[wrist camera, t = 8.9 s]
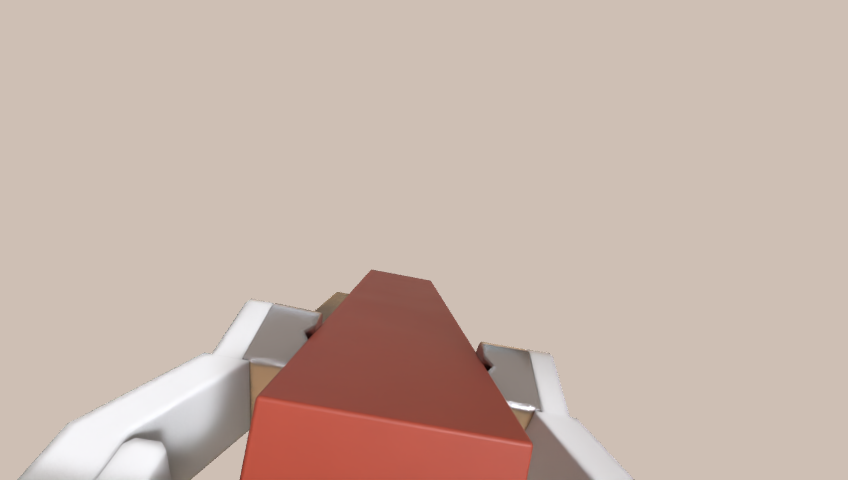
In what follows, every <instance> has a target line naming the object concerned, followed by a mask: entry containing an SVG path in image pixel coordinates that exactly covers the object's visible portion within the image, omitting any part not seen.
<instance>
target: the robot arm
mask: <svg viewBox="0 0 848 480" xmlns="http://www.w3.org/2000/svg"><path fill="white" fill-rule="evenodd" d="M322 317H323V315H322V313H320V312H316V311H311V310H306V309H301V308H296V307H291V306H286V305H282V304H277V303H275V304H274V303H270V302H265V301H260V300H255V299H250V300H249V301H248V302H246V303H245V304H244V306H243V307H242V309H241V311H240V312H239V314H238V315H237V317H236V318H235V320H234V321H233V323H232V324H231V326H230V327H229V329H228V330H227V332H226V333H225V335H224V336H223V338H222V340H221V341H220V342H219V344H218V345H217V347H216V348H215V350H214V352H213V353H212V354H209V353H203V354H201V355H199V356H197V357H195V358H193V359H191V360H189V361H187V362H185V363H183V364H182V365H180V366H178V367H176V368H174V369H172V370H170V371H168V372H166V373H164V374H162V375H160V376H158V377H156V378H154V379H153V380H150V381H149V382H147V383H145V384H143V385H141V386H139V387H137V388H135V389H133V390H131V391H129V392H127V393H125V394H123V395H121V396H120V397H118V398H116V399H114V400H112V401H110V402H108V403H106V404H104V405H102V406H100V407H98V408H96V409H95V410H92V411H91V412H89V413H87V414H85V415H83V416H81V417H79V418H77V419H75V420H73V421H71V422H69V423H68V424H67V425H66V426H65V427H64V428H63V429H62V430H61V431H60V432H59V434H58V435H57V436H56V437H55V438H54V439H53V440H52V441H51V442H50V444H49V445H48V446H47V447H46V448H45V449H44V450H43V451H42V453H41V454H40V455H39V456H38V457H37V458H36V459H35V460H34V462H33V463H32V464H31V465H30V466H29V467H28V468H27V470H26V471H25V472H24V473H23V474H22V475H21V476H20V477H19V478H18V480H191V479H192V478H193V477H194V476H195V475H197V474H198V473H199V472H200V471H201V470H203V468H205V467H206V466H207V465H208V464H209V463H211V462H212V461H213V460H214V459H216V458H217V457H218V456H219V455H220V454H221V453H222V452H224V451H225V450H226V449H227V448H228V447H230V446H231V445H232V444H233V443H234V442H236V441H237V440H238V439H239V438H240V437H241V436H243V435H244V434H245V433H246V432H247V431H249V429H250V424H251V419H252V414H253V409H254V403H255V399H256V397H257V396H258V395H259V393H260V392H261V391H262V390H263V389H264V388H265V387H266V386H267V385H268V383H269V382H270V381H271V380H272V379H273V378H274V377H275V376H276V375H277V373H278V372H279V371H280V370H281V369H282V368H283V367H284V366H285V365H286V364H287V362H288V361H289V360H290V359H291V358H292V357H293V356H294V355H295V354H296V352H297V351H298V350H299V349H300V348H301V347H302V346H303V345H304V344H305V342H306V341H307V340H308V339H309V338H310V337H311V336H312V335H313V334H314V333H315V332H316V331H317V330H318V329H319V328H320V327H321V326H322ZM476 355H477V356H478V358H479V359H480V361H481V363H482V364H483V365H484V366H485V368H486V370H487V371H488V373H489V374H490V376H491V378H492V379H493V381H494V382H495V384H496V386H497V387H498V389H499V390H500V392H501V394H502V395H503V397H504V398H505V400H506V402H507V403H508V405H509V406H510V408H511V409H512V411H513V413H514V414H515V416H516V417H517V419H518V421H519V422H520V424H521V425H522V427H523V429H524V430H525V432H526V433H527V435H528V437H529V438H530V440H531V441H532V443H533V450H532V455H531V460H530V465H529V471H528V476H527V480H634V479H633V478H632V477H631V476H630V475H629V474H628V473H627V472H626V470H625V469H624V468H623V467H622V466H621V465H620V464H619V463H618V462H617V461H616V460H615V459H614V458H613V457H612V456H611V455H610V453H609V452H608V451H607V450H606V449H605V448H604V447H603V446H602V445H601V444H600V443H599V442H598V441H597V439H596V438H595V437H594V436H593V435H592V434H591V433H590V432H589V431H588V430H587V429H586V428H585V427H584V425H582V423H581V422H580V421H579V420H578V419H577V418H571V417H570V416H569V413H568V410H567V406H566V402H565V398H564V395H563V391H562V388H561V384H560V381H559V377H558V374H557V371H556V367H555V364H554V360H553V357H552V356H551V354H550V353H545V352H539V351H533V350H525V349H519V348H514V347H507V346H502V345H496V344H491V343H485V342H481V343H480V344H479V346H478V348H477V351H476Z"/></svg>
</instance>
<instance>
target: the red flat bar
mask: <svg viewBox="0 0 848 480" xmlns="http://www.w3.org/2000/svg"><path fill="white" fill-rule="evenodd" d="M532 450H533V443H532V441H531V440H530V438H529V437H528V435H527V433H526V432H525V430H524V429H523V427H522V425H521V424H520V422H519V421H518V419H517V417H516V416H515V414H514V413H513V411H512V409H511V408H510V406H509V405H508V403H507V402H506V400H505V398H504V397H503V395H502V394H501V392H500V390H499V389H498V387H497V386H496V384H495V382H494V381H493V379H492V378H491V376H490V374H489V373H488V371H487V370H486V368H485V366H484V365H483V364H482V363H481V361H480V359H479V358H478V356H477V355H476V352H475V351H474V349H473V347H472V346H471V344H470V343H469V341H468V339H467V338H466V336H465V335H464V333H463V332H462V330H461V328H460V327H459V325H458V324H457V322H456V320H455V319H454V317H453V316H452V314H451V312H450V311H449V309H448V308H447V306H446V304H445V303H444V301H443V300H442V298H441V296H440V295H439V293H438V292H437V290H436V288H435V287H434V285H433V284H432V282H431V281H429V280H423V279H418V278H413V277H408V276H402V275H397V274H391V273H387V272H381V271H376V270H371V271H370V272H369V273H368V274H367V275H366V276H365V277H364V278H363V279H362V281H361V282H360V283H359V284H358V285H357V286H356V287H355V288H354V289H353V290H352V292H351V293H350V294H349V295H348V296H347V297H346V298H345V299H344V300H343V302H342V303H341V304H340V305H339V306H338V307H337V308H336V309H335V310H334V311H333V313H332V314H331V315H330V316H329V317H328V318H327V319H326V320H325V321H324V323H323V324H322V326H321V327H320V328H319V329H318V330H317V331H316V332H315V333H314V334H313V335H312V336H311V337H310V338H309V339H308V340H307V341H306V342H305V344H304V345H303V346H302V347H301V348H300V349H299V350H298V351H297V352H296V354H295V355H294V356H293V357H292V358H291V359H290V360H289V361H288V362H287V364H286V365H285V366H284V367H283V368H282V369H281V370H280V371H279V372H278V373H277V375H276V376H275V377H274V378H273V379H272V380H271V381H270V382H269V383H268V385H267V386H266V387H265V388H264V389H263V390H262V391H261V392H260V393H259V395H258V396H257V397H256V399H255V403H254V409H253V414H252V419H251V424H250V429H249V435H248V440H247V445H246V450H245V456H244V460H243V465H242V471H241V476H240V480H527V476H528V471H529V465H530V460H531V455H532Z"/></svg>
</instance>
